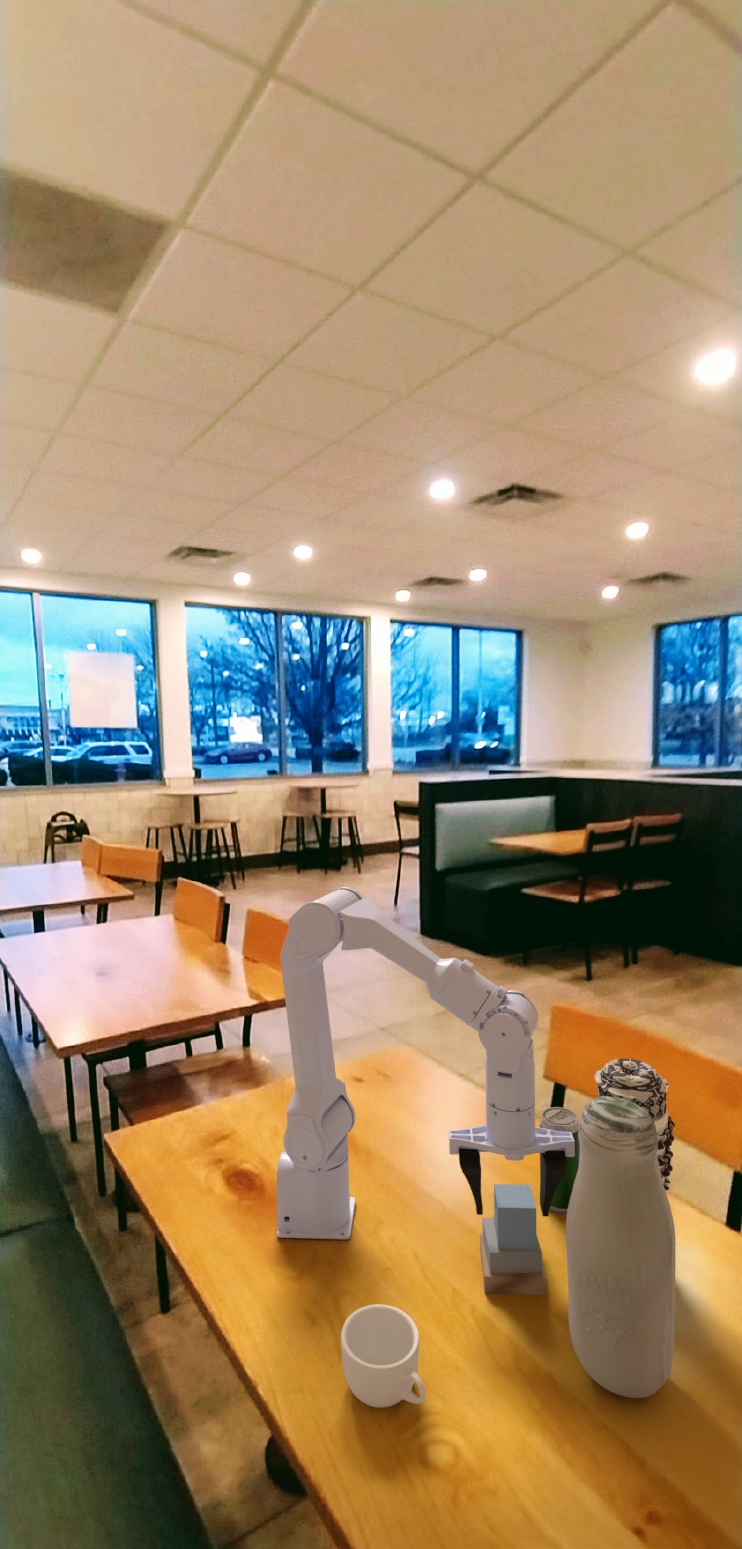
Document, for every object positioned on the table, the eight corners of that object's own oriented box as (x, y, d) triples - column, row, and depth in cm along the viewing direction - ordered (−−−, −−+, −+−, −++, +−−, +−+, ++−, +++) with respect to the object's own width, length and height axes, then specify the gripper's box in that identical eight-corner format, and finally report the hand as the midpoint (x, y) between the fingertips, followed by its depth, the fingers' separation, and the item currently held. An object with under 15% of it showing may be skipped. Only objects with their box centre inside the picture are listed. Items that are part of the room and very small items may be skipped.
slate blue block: (498, 1248, 85) (497, 1207, 85) (494, 1223, 89) (493, 1183, 89) (536, 1250, 85) (536, 1208, 84) (530, 1224, 89) (530, 1184, 89)
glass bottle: (682, 1360, 75) (683, 1093, 73) (662, 1443, 66) (662, 1144, 64) (585, 1319, 80) (583, 1071, 78) (554, 1392, 71) (552, 1114, 70)
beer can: (561, 1219, 96) (561, 1131, 96) (531, 1198, 101) (531, 1114, 100) (589, 1204, 99) (588, 1118, 98) (559, 1184, 104) (558, 1102, 103)
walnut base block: (484, 1297, 84) (484, 1276, 84) (480, 1253, 91) (479, 1234, 91) (546, 1299, 84) (546, 1278, 84) (537, 1255, 91) (537, 1236, 90)
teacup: (326, 1383, 73) (324, 1332, 73) (383, 1339, 78) (381, 1291, 78) (394, 1456, 66) (393, 1400, 65) (452, 1403, 71) (452, 1350, 70)
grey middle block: (490, 1273, 84) (489, 1252, 84) (482, 1237, 90) (482, 1218, 90) (542, 1272, 84) (542, 1251, 84) (531, 1236, 90) (531, 1217, 90)
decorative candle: (676, 1312, 81) (676, 1092, 79) (588, 1292, 84) (587, 1080, 82) (672, 1255, 89) (673, 1056, 88) (593, 1239, 92) (592, 1046, 91)
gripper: (449, 1116, 83) (451, 1231, 84) (580, 1118, 82) (580, 1234, 83) (447, 1086, 90) (449, 1192, 91) (567, 1087, 89) (568, 1195, 90)
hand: (511, 1210), depth 87 cm, fingers open, 7 cm apart
